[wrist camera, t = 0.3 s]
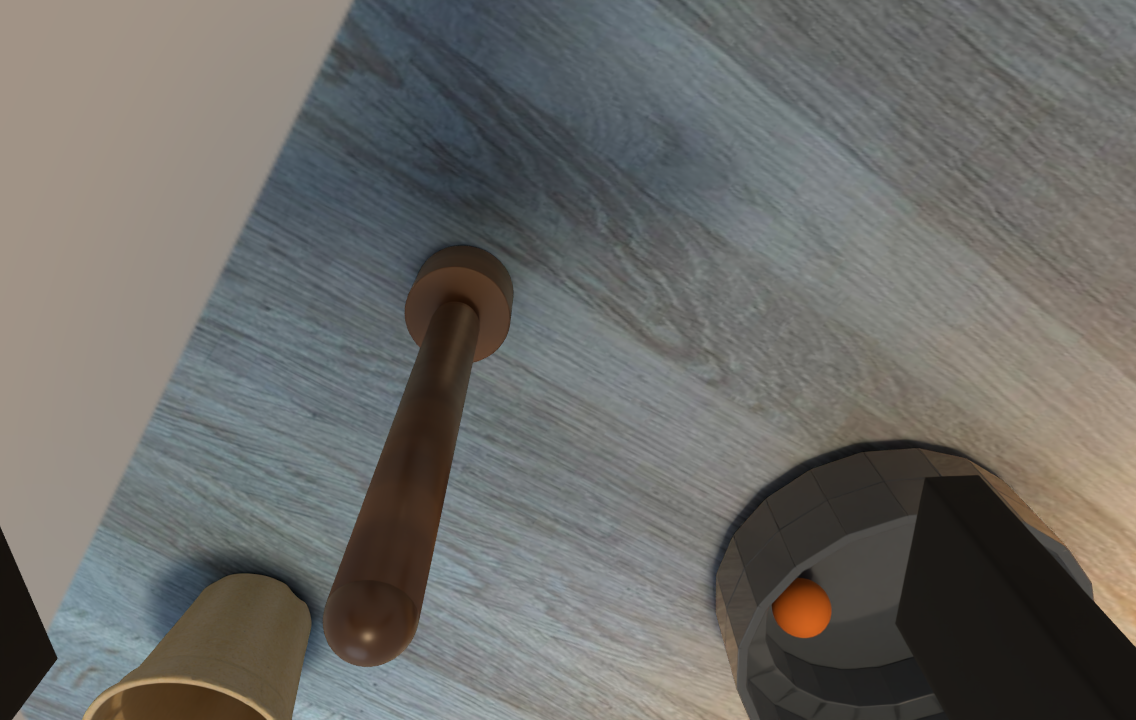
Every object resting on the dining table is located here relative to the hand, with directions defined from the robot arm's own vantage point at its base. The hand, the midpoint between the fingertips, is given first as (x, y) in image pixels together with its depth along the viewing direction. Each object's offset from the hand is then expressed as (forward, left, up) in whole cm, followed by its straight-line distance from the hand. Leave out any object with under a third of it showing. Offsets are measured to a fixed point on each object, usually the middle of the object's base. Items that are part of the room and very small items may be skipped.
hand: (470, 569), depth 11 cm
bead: (+22, +13, -21) cm, 33 cm away
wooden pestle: (+4, -3, -24) cm, 24 cm away
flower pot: (+22, -17, -24) cm, 37 cm away
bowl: (+22, +17, -24) cm, 37 cm away
